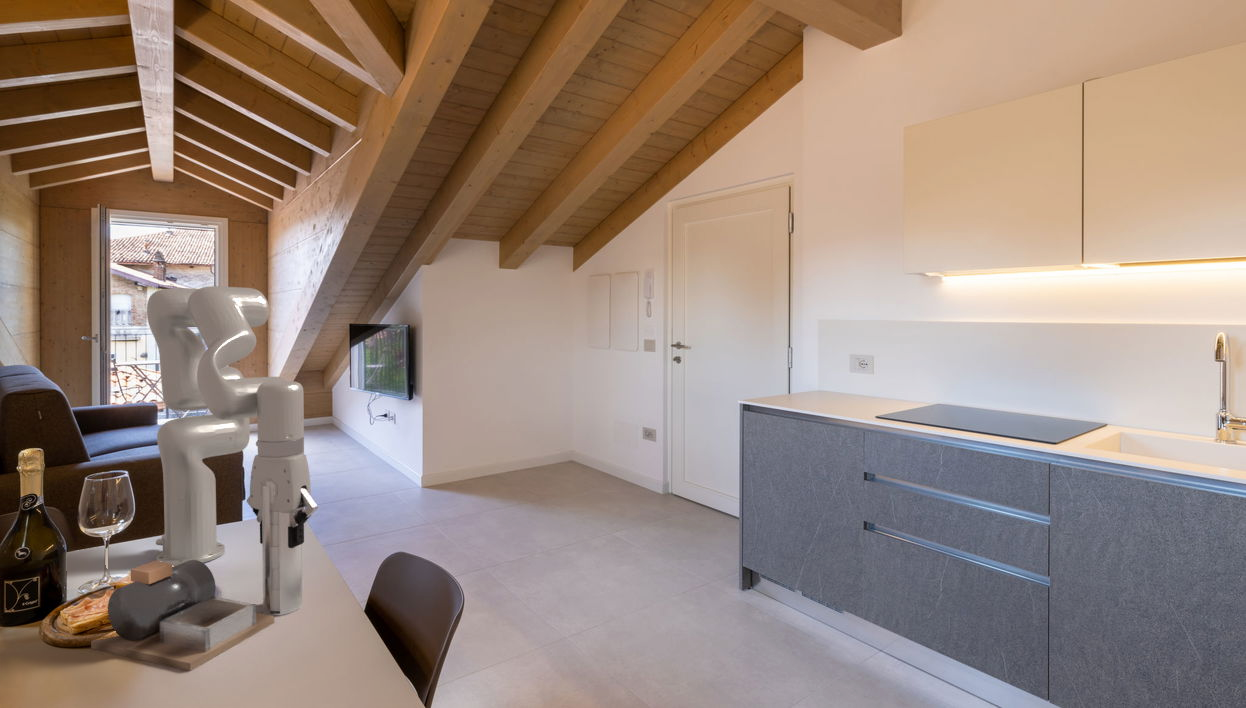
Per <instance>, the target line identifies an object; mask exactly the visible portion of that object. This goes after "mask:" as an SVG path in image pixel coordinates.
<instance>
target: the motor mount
mask: <svg viewBox="0 0 1246 708" xmlns="http://www.w3.org/2000/svg"><path fill="white" fill-rule="evenodd" d="M107 616H108V619H109V622H110V624H111V627H112V628H113V631H114V630H115V631H116V633H117V634H118V635H119V636H116V637H112V638H108V639H107V638H106V639H100V640H95V639H92V640H91V641H90V648H91V649H92V650H93V649H94V650H97V651H102V652H106V653H111V654H115V655H120V656H124V657H129V658H132V659H137V660H141V661H145V662H150V663H153V664H159V665H163V666H167V667H172V668H176V669H180V670H183V671H184V670H185V671H187V672H188V671H190V672H191V671H193V670H194V669H196V668H198V667H200V666H201V665H203V664H205V663H207V662H209V661H211V660H212V659H214V658H215V657H218V656H219V655H221V654H222V653H224V652H225V651H228V650H230V649H231V648H233V647H234V646H236V645H238V644H240V643H242V642H243V641H245V640H246V639H248V638H250V637H252V636H253V635H255V634H257V633H259V632H260V631H263V630H264V629H266V628H267V627H269V626H271V625H272V624H274V623H275V616H271V615H267V614H265V613H260V612H257V604H256V603H250V602H245V601H239V600H234V599H231V598H230V599H228V598H223V597H219V596H218V597H217V596H216V581H215V578H214V574H213V572H212V571H211V569H210V568H209V567H208V565H206V564H205V562H204V563H202V562H200V561H198V560H189V561H186V562H184V563H181V564H179V565H176V566H174V567H172V564H171V563H165V562H160V561H157V560H153V561H150V562H147V563H144V564H141V565H139V566H137V567H133V568H131V569H130V583H127V584H126V585H123V586H120V587H118V588H116V589H115V590H113V592H112V593H111V595H110V597H109V599H108V603H107Z"/></svg>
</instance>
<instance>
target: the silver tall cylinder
mask: <svg viewBox="0 0 1246 708" xmlns="http://www.w3.org/2000/svg"><path fill="white" fill-rule="evenodd" d="M274 483H275V482H274ZM273 487H274V492H273ZM274 495H275V485H274V484H273V482H270V481H267V482H266V485H263V510H262V544H261V546H262V612H263V614H266V615H271V616H274V617H276V616H283V615H288V614H292V613H294V612H297V610H299V609H300V608H302V606H303V544H300V545H298V546H296V547H294V548H289V547H288V527H290V526H291V524H290V520H289V513H281V512H274V511H271V503H273V499H274V498H275V497H273V496H274ZM298 507H300V502H299V505H298ZM295 514H296V518H297V517H298V515H299V511H296V512H295Z"/></svg>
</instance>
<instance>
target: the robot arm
mask: <svg viewBox="0 0 1246 708" xmlns="http://www.w3.org/2000/svg"><path fill="white" fill-rule="evenodd" d="M146 305H147V306H146V318H147V322H148V326H149V329H150V332H151V333H152V335H153V336H152V337H153V338H154V340H155V343H156V346H157V349H158V354H159V368H160V380H161V381H160V382H161V390H162V392H161V393H162V399H163V401H164V405H165V407H166V408H168V409H169V410H172V411H178V412H185V411H186V412H187V411H188V412H189V411H200V410H209V413H210V414H202V415H200V414H199V415H193V416H184V417H178V418H174V419H171V420H168V421H166V422H164V423H163V424H162V425H160V427H159V429H158V431H157V434H156V442H157V448H158V451H159V455H160V456H159V457H160V459H161V460H160V461H161V466H162V474H163V475H162V477H163V478H162V479H163V480H162V481H163V506H164V507H163V509H164V510H163V515H164V517H163V518H164V533H163V534H162V535H161V538H158V539H156V540H155V545H156V546H162V551H161V552H160V553H158V555H157V556H156V561H162V562H165V563H171V564H172V565H173V566H176V565H179V564H181V563H184V562H186V561H189V560H198V561H200V562H202V563H204V564H205V563H207V562H210V561H213V560H215V559H217V558H219V557H220V556H222V555H223V554H224V553H225V552H226V547H225V545H224V544H223V543H221V542H217V493H216V492H217V491H216V490H217V489H216V488H217V487H216V486H217V485H216V483H217V481H216V476H215V473H214V471H212V470H211V468H209V466H207V465H206V464H205V463H204V461H203V460H204V459H207V458H211V457H218V456H223V455H230V454H236V453H240V452H242V451H243V450H245V449H246V448H247V447H248V445H249V442H250V438H251V437H250V435H251V433H250V432H251V431H250V430H251V429H250V428H251V427H250V418H257V441H256V442H255V446H256V447H257V454H255V455H254V458H253V460H252V466H251V472H250V479H249V480H250V481H249V482H250V484H249V496H248V498H247V499H246V503H247V505H248V506H249V507H250V508H251V509H252V512H253V514H254V515H256V522H257V523H259V543H260V544H261V545H262V510H263V485H266V482H267V481H270V482H273V484H274V485H275V495H274V496H273V497H275V498H274V499H273V503H271V511H274V512H281V513H289V520H290V524H291V526H290V527H288V547H289V548H294V547H296V546H298V545H300V544H302V545H303V543H304V542H305V524H306V523H307V521H308V519H310V518H311V516H312V515H313V514H314V513H315V512H316V511H317V510H318V509H319V506H318V505H317V503H316V502H315V501H314V499H313V498H312V496H311V494H312V493H311V478H310V477H311V476H310V468H309V464H308V463H309V462H308V458H307V455H306V454H305V428H304V427H305V425H304V424H305V423H304V422H305V419H304V418H305V415H304V414H305V413H304V411H305V410H304V405H305V404H304V400H305V399H304V397H305V395H304V387H303V385H302V384H301V383H300V382H297V381H294V380H287V379H286V378H284V377H281V376H261V377H244V376H243V374H242V372H241V371H240V370H239V369H238V368H235V367H232V366H229V365H233V364H234V363H236V362H238V361H241V360H243V359H244V358H246V357H248V356H249V355H250V354H251V353H252V352H253V351H254V349H256V346H257V337H256V334H255V332H254V331H253V329H252V328H259V327H261V326H263V325H265V324H266V322H267V321H268V319H269V315H270V304H269V302H268V300H267V298H266V297H265V294H263V293H262V292H261V291H260V290H258V289H255V288H252V287H240V286H239V287H236V286H217V285H216V286H215V285H214V286H213V285H212V286H204V287H200V288H191V287H189V288H187V287H185V288H183V287H173V288H163V289H160V290H157V291H154V292H153V293H152V294H151V295H150V296H149V298H148V300H147V304H146ZM190 328H197V330H198V332H199V335H200V336H201V338H202V340H203V341H202V340H201V339H200V337H199V336H198V335H197V334H196V333H195V332H194V331H192V330H191V329H190ZM205 345H206V346H205ZM206 348H207V349H206ZM274 482H275V483H274ZM273 492H274V487H273ZM299 502H300V507H298V505H299ZM296 511H299V515H298V517H297V518H296V514H295V512H296Z"/></svg>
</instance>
